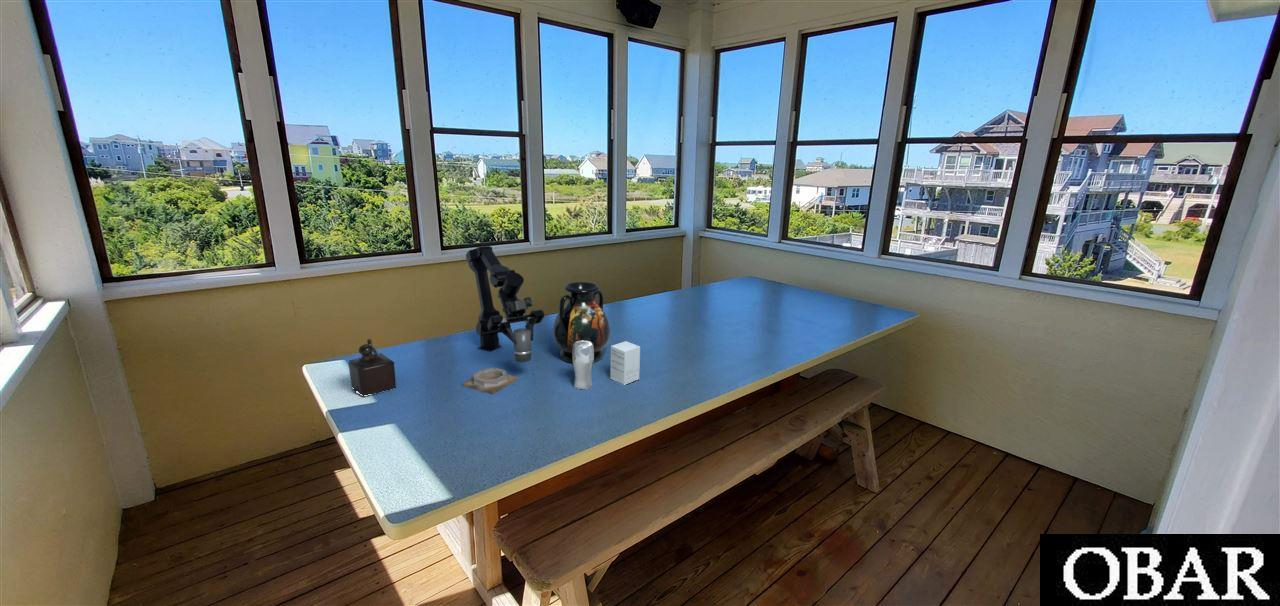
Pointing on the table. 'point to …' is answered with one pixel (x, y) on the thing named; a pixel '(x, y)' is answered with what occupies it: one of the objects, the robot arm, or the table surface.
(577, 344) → the beer glass
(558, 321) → the amphora vase
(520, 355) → the grey dome-topped cylinder
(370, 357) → the brown coffee grinder
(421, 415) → the table surface
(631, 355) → the supplement box
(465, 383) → the walnut mount board
